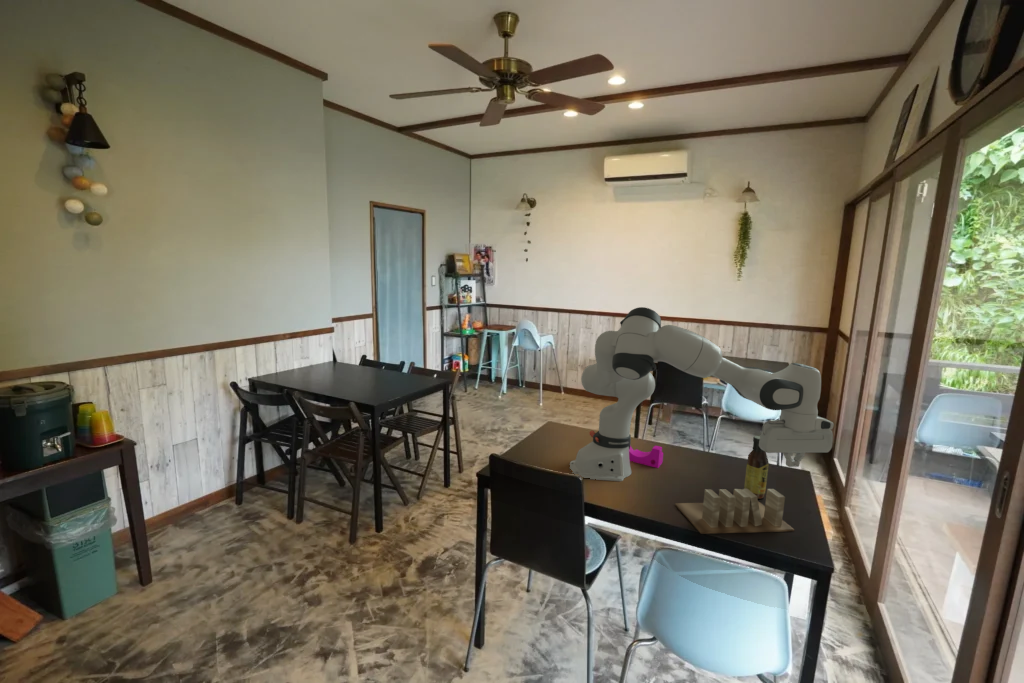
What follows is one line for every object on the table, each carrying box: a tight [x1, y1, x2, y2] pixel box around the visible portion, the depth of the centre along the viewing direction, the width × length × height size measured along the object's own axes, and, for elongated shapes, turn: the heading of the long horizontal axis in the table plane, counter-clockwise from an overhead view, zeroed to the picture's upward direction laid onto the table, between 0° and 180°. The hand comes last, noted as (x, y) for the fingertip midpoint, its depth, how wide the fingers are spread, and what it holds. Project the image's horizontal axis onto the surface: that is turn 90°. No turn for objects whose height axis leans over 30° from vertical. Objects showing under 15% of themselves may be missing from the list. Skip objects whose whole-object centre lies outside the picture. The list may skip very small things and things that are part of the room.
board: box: [674, 501, 795, 535], centre depth 137 cm, size 28×16×1 cm, turn 96°
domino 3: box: [732, 488, 751, 527], centre depth 133 cm, size 2×5×9 cm, turn 6°
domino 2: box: [718, 488, 736, 527], centre depth 132 cm, size 2×5×9 cm, turn 6°
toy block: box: [629, 445, 664, 469], centre depth 177 cm, size 15×6×8 cm, turn 57°
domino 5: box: [764, 488, 786, 526], centre depth 133 cm, size 2×5×9 cm, turn 6°
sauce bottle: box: [743, 435, 770, 500], centre depth 150 cm, size 7×6×20 cm
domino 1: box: [702, 488, 721, 527], centre depth 132 cm, size 2×5×9 cm, turn 6°
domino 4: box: [741, 488, 762, 526], centre depth 133 cm, size 2×5×9 cm, turn 6°
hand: (792, 466), depth 132 cm, fingers closed
